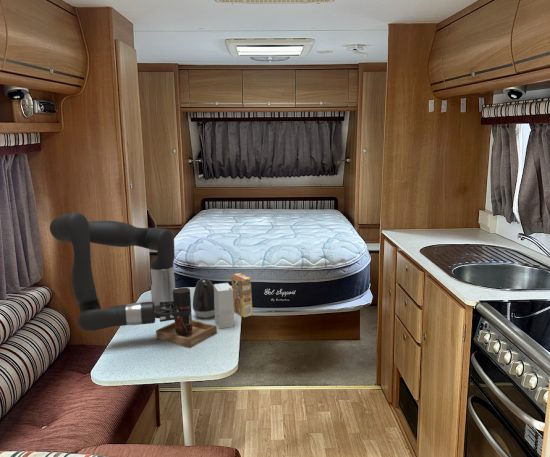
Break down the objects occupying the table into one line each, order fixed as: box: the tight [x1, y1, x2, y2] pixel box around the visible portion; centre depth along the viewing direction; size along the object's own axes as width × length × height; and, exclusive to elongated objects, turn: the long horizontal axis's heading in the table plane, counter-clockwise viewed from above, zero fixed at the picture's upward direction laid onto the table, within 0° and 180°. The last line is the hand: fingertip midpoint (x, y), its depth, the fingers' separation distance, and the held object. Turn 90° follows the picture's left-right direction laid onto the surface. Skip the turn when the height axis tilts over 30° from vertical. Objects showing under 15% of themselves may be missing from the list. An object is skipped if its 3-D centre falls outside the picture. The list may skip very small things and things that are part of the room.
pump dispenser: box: [192, 277, 215, 319], centre depth 198 cm, size 10×10×15 cm
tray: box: [155, 319, 218, 349], centre depth 181 cm, size 16×14×3 cm
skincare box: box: [213, 282, 235, 329], centre depth 189 cm, size 8×6×15 cm
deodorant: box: [173, 287, 193, 334], centre depth 178 cm, size 6×6×15 cm
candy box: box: [230, 272, 253, 318], centre depth 199 cm, size 9×4×15 cm, turn 33°
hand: (189, 308), depth 179 cm, fingers closed on deodorant, 6 cm apart
